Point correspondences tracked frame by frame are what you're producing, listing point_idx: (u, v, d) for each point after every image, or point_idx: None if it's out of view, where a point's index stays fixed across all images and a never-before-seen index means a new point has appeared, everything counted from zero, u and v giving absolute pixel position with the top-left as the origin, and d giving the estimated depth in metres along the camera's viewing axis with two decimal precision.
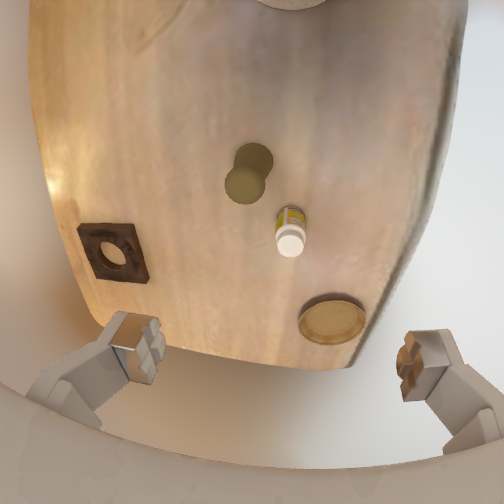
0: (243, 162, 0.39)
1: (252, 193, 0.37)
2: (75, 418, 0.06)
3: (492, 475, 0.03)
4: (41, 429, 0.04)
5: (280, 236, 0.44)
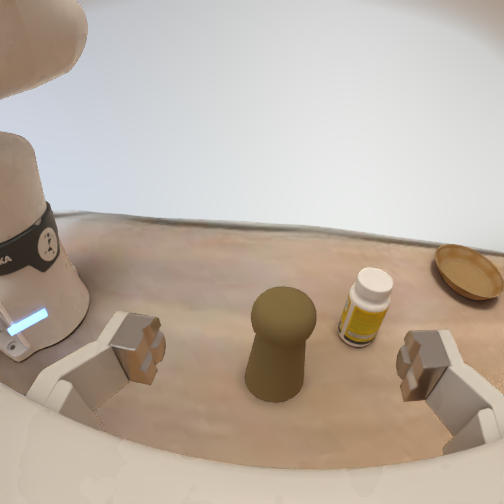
0: (256, 342, 0.25)
1: (290, 291, 0.24)
2: (75, 418, 0.06)
3: (492, 475, 0.03)
4: (41, 429, 0.04)
5: (366, 293, 0.28)
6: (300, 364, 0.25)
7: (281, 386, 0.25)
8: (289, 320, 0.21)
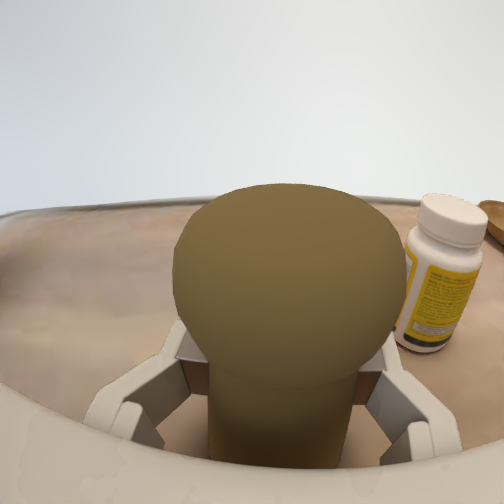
0: (209, 372, 0.08)
1: (302, 185, 0.07)
2: (144, 442, 0.06)
3: (492, 475, 0.03)
4: (41, 429, 0.04)
5: (452, 231, 0.12)
6: (347, 419, 0.08)
7: None
8: (325, 257, 0.04)
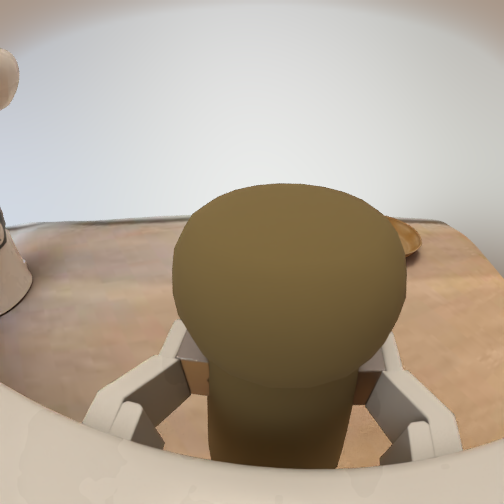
0: (209, 372, 0.08)
1: (302, 185, 0.07)
2: (144, 442, 0.06)
3: (492, 475, 0.03)
4: (41, 429, 0.04)
5: None
6: (347, 419, 0.08)
7: None
8: (324, 257, 0.04)
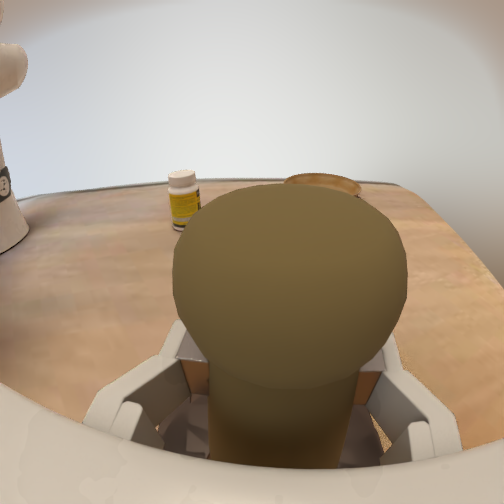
0: (209, 372, 0.08)
1: (303, 185, 0.07)
2: (144, 442, 0.06)
3: (492, 475, 0.03)
4: (41, 429, 0.04)
5: (171, 181, 0.41)
6: (347, 419, 0.08)
7: None
8: (325, 257, 0.04)
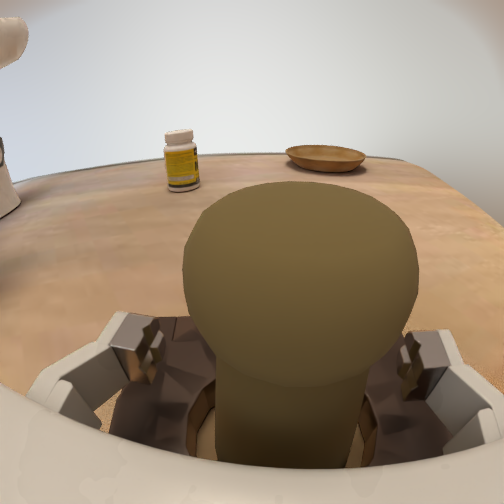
0: (218, 372, 0.07)
1: (312, 182, 0.07)
2: (75, 418, 0.06)
3: (492, 475, 0.03)
4: (41, 429, 0.04)
5: (167, 138, 0.38)
6: (357, 418, 0.08)
7: None
8: (341, 252, 0.04)
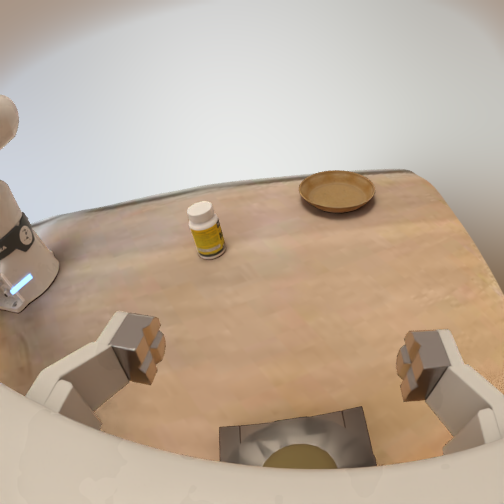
0: None
1: (303, 458, 0.15)
2: (75, 418, 0.06)
3: (492, 475, 0.03)
4: (41, 429, 0.04)
5: (191, 218, 0.44)
6: None
7: None
8: None
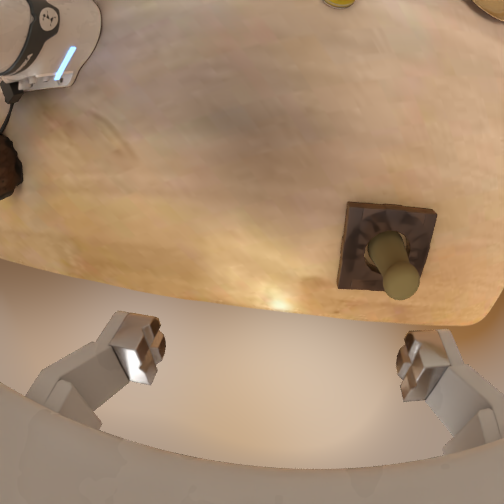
0: (381, 272, 0.39)
1: (409, 281, 0.34)
2: (75, 418, 0.06)
3: (492, 475, 0.03)
4: (41, 429, 0.04)
5: None
6: None
7: None
8: (401, 298, 0.36)
